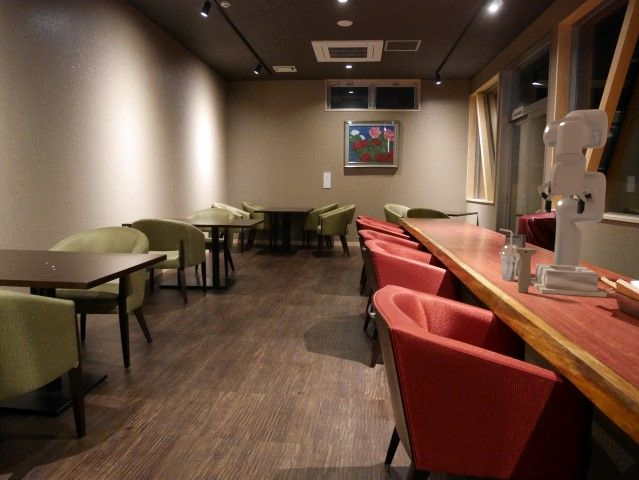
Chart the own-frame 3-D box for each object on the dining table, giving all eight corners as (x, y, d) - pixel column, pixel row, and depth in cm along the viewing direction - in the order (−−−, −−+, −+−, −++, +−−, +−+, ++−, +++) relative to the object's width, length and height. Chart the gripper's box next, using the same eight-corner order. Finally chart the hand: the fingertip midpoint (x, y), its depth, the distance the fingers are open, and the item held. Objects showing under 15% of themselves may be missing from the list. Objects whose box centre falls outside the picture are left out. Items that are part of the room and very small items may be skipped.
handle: (533, 294, 163) (536, 250, 161) (512, 292, 165) (515, 248, 163) (533, 291, 167) (536, 248, 165) (513, 289, 170) (516, 247, 168)
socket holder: (527, 281, 186) (528, 262, 186) (584, 284, 182) (585, 265, 182) (541, 293, 165) (543, 272, 164) (606, 297, 161) (608, 275, 160)
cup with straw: (521, 282, 183) (524, 229, 181) (495, 280, 186) (498, 228, 184) (519, 278, 191) (523, 227, 189) (495, 276, 194) (498, 226, 192)
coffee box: (508, 270, 209) (510, 233, 207) (524, 272, 205) (526, 234, 203) (502, 273, 202) (505, 235, 200) (518, 275, 198) (521, 236, 196)
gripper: (592, 161, 160) (587, 213, 162) (536, 160, 163) (533, 211, 164) (601, 160, 153) (596, 214, 154) (543, 159, 155) (539, 212, 157)
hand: (564, 213), depth 159 cm, fingers open, 9 cm apart
